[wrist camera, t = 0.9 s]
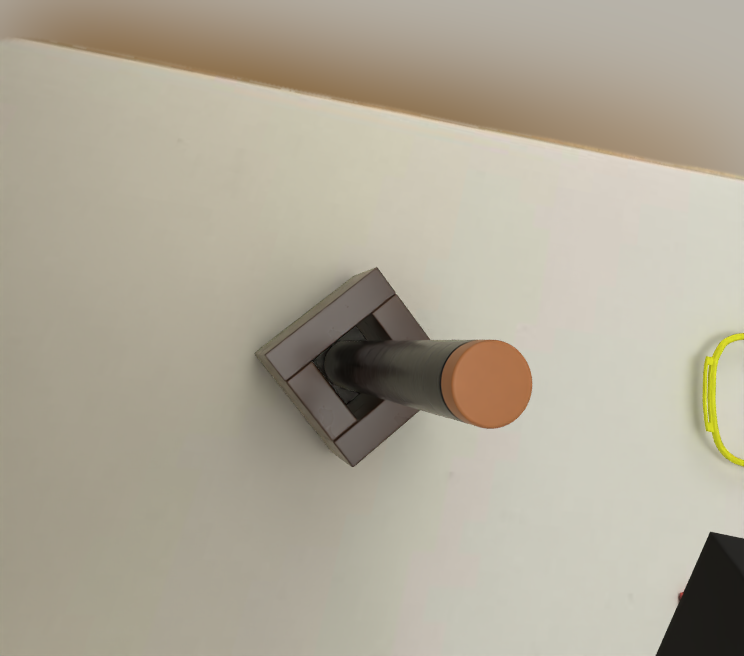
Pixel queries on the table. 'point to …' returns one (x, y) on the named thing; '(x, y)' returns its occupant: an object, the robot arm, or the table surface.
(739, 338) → the glasses
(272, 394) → the table surface
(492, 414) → the black orange-capped rod
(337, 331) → the pen holder
